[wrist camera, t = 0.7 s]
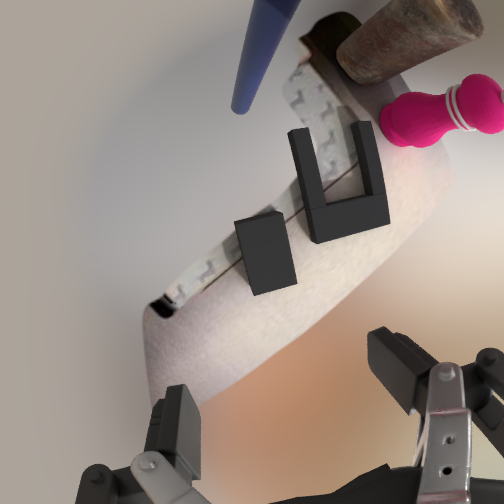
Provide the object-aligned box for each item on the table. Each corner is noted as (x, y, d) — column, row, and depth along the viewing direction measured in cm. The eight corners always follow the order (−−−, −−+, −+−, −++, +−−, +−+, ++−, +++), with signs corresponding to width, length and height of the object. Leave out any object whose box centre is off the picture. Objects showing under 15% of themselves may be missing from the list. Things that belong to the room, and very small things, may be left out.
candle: (390, 79, 29) (494, 32, 10) (358, 98, 29) (471, 42, 10) (358, 37, 27) (444, -32, 8) (323, 52, 28) (408, -35, 8)
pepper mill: (423, 136, 31) (536, 121, 12) (395, 160, 32) (521, 152, 12) (397, 93, 30) (505, 53, 10) (366, 113, 30) (485, 69, 11)
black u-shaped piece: (286, 133, 29) (291, 129, 28) (362, 123, 30) (370, 120, 28) (311, 241, 33) (316, 244, 31) (382, 221, 33) (390, 223, 31)
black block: (233, 221, 31) (235, 224, 28) (276, 210, 31) (282, 212, 28) (250, 287, 33) (253, 296, 30) (290, 275, 33) (297, 283, 30)
